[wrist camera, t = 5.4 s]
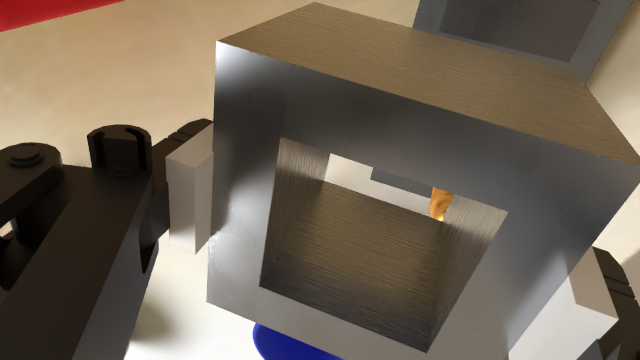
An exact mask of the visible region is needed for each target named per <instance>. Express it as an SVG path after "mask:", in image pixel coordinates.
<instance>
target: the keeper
mask: <svg viewBox="0 0 640 360" xmlns="http://www.w3.org/2000/svg"><path fill="white" fill-rule="evenodd" d="M632 1H633V0H420V2H419V6H418V9H417V13H416V17H415V20H414V24H413V27H412V28H413V29H417V30H421V31H425V32H428V33H432V34H436V35H440V36H443V37H447V38H451V39H455V40H458V41H462V42H466V43H470V44H473V45H477V46H481V47H485V48H488V49H492V50H496V51H500V52H503V53H507V54H511V55H514V56H518V57H522V58H526V59H529V60H533V61H537V62H541V63H544V64H548V65H552V66H556V67H559V68H563V69H567V70H571V71H574V72H575V73H576V74H577V75H578V77H579V78H580V79H581V81H582V82H583V83H584V85H585V83H586V81H587V79H588V78H589V76H590V74H591V72H592V71H593V69H594V67H595V66H596V64H597V62H598V60H599V59H600V57H601V55H602V53H603V52H604V50H605V48H606V46H607V45H608V43H609V41H610V39H611V38H612V36H613V34H614V32H615V31H616V29H617V27H618V25H619V24H620V22H621V20H622V18H623V17H624V15H625V13H626V11H627V10H628V8H629V6H630V4H631V3H632ZM370 179H371V180H374V181H377V182H380V183H383V184H387V185H390V186H393V187H396V188H399V189H402V190H406V191H409V192H412V193H415V194H418V195H421V196H425V197H428V198H431V202H430V208H429V217H431V218H434V219H437V220H440V221H442V219H443V217H444V215H445V212H446V210H447V208H448V206H449V204H450V202H451V199H452V197H453V195H454V194H453V193H450V192H447V191H444V190H441V189H438V188H435V187H432V186H429V185H426V184H423V183H420V182H416V181H413V180H410V179H407V178H404V177H401V176H398V175H395V174H392V173H389V172H386V171H383V170H380V169H377V168H373V171H372V175H371V178H370Z"/></svg>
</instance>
